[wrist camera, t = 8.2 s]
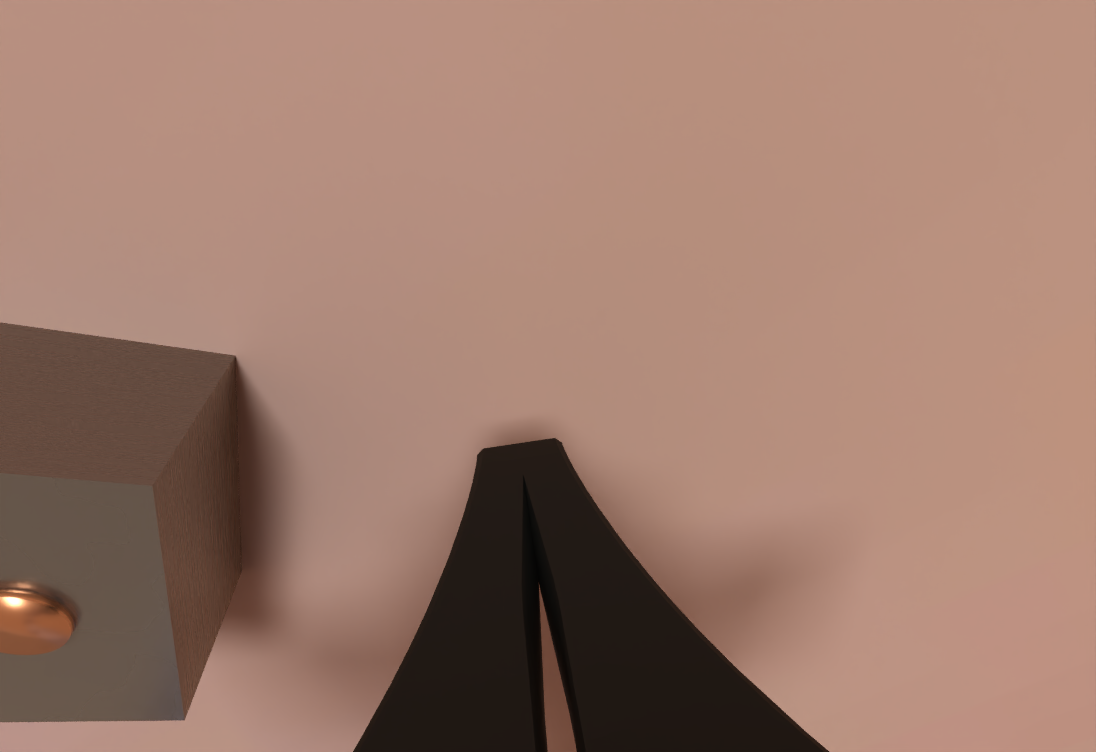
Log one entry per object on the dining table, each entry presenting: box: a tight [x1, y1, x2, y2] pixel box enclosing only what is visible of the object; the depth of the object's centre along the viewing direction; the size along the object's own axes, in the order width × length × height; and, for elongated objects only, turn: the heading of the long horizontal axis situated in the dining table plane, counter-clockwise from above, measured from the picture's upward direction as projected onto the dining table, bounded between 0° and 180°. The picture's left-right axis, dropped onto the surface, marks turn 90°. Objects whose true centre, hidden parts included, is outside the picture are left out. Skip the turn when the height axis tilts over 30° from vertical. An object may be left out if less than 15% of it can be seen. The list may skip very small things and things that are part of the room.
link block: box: [0, 323, 242, 722], centre depth 10 cm, size 6×4×4 cm, turn 165°
